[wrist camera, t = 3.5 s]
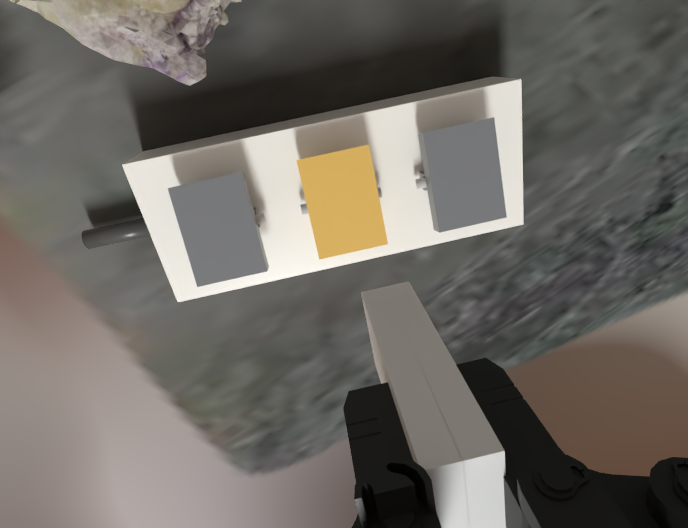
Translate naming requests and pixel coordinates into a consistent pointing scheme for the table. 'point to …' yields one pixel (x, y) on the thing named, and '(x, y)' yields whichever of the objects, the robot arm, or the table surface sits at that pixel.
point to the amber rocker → (343, 201)
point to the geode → (142, 30)
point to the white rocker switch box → (286, 187)
